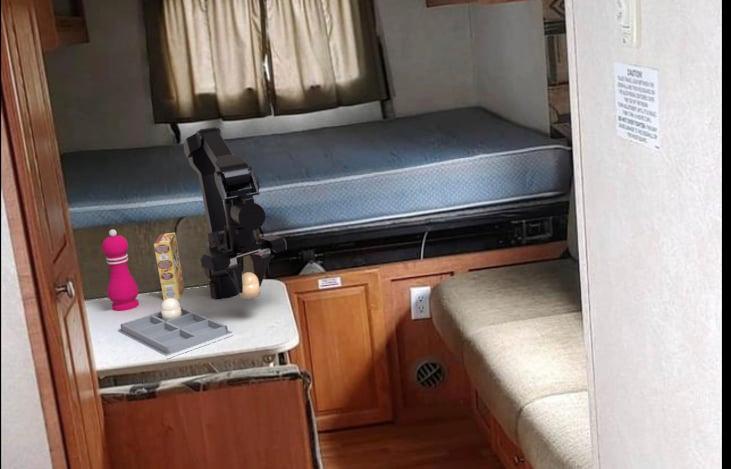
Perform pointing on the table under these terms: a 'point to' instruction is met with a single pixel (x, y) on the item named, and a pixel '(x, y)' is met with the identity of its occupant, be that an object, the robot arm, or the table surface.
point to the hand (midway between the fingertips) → (249, 289)
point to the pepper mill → (119, 273)
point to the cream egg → (170, 309)
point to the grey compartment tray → (174, 331)
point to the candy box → (169, 266)
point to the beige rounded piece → (250, 286)
